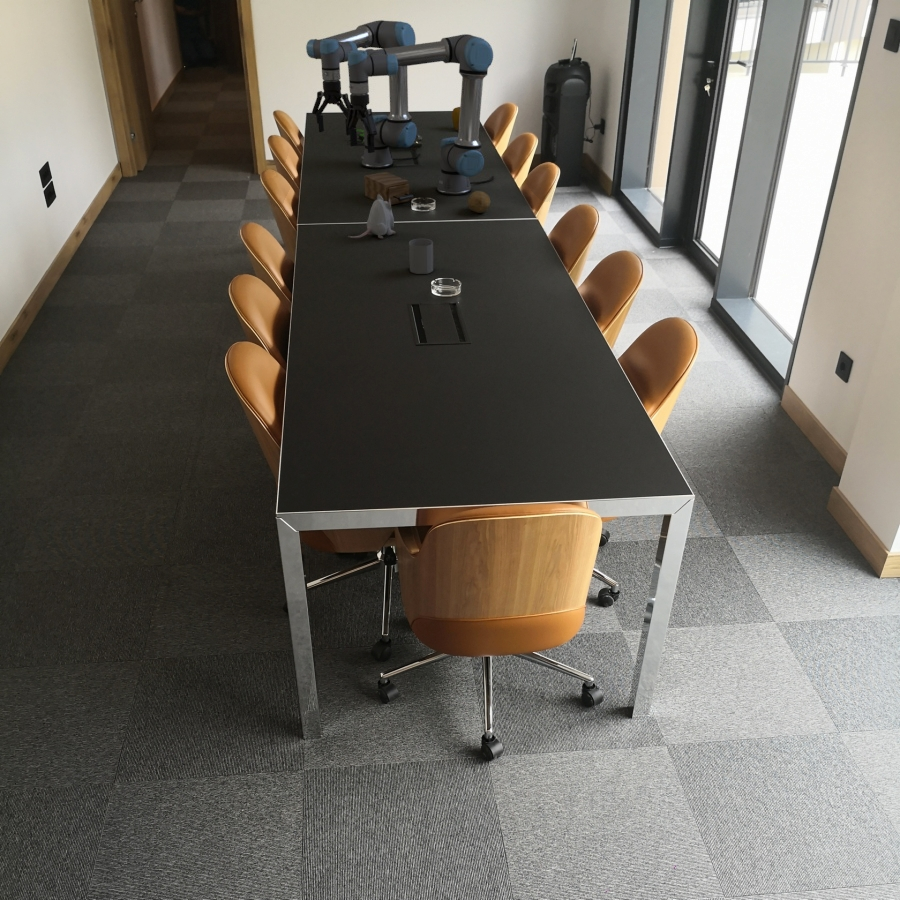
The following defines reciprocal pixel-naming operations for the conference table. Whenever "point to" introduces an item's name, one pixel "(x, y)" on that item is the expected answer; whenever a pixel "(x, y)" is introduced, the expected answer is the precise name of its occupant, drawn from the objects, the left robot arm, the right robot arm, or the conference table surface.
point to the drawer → (399, 193)
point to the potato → (478, 201)
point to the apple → (456, 117)
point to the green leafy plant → (361, 137)
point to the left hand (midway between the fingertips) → (335, 133)
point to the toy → (379, 219)
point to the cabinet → (381, 185)
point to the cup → (421, 256)
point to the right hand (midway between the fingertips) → (362, 149)
